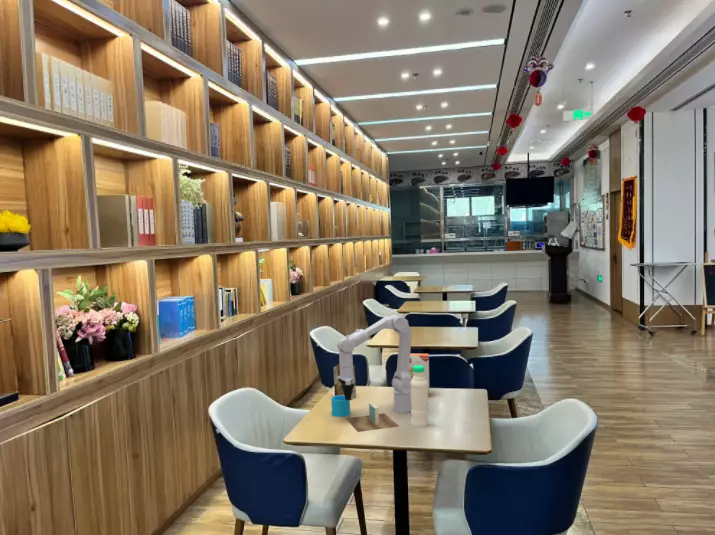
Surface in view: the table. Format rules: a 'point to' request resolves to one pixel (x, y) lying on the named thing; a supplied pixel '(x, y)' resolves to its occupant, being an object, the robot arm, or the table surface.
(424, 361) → the cracker box
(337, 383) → the coffee box
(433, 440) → the table surface
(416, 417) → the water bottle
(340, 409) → the mug
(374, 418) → the tile
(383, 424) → the board
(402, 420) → the table surface
